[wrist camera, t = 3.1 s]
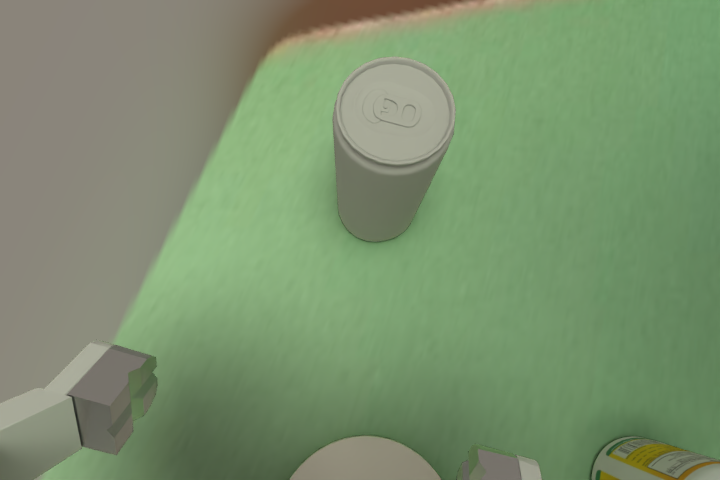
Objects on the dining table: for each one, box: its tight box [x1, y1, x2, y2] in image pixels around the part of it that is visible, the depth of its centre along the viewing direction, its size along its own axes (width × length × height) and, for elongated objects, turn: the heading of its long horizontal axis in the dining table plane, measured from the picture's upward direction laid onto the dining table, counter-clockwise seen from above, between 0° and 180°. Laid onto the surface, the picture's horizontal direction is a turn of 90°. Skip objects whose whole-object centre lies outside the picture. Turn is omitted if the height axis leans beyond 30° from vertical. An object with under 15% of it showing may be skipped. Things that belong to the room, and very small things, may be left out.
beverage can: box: [333, 57, 456, 242], centre depth 23 cm, size 5×5×12 cm
